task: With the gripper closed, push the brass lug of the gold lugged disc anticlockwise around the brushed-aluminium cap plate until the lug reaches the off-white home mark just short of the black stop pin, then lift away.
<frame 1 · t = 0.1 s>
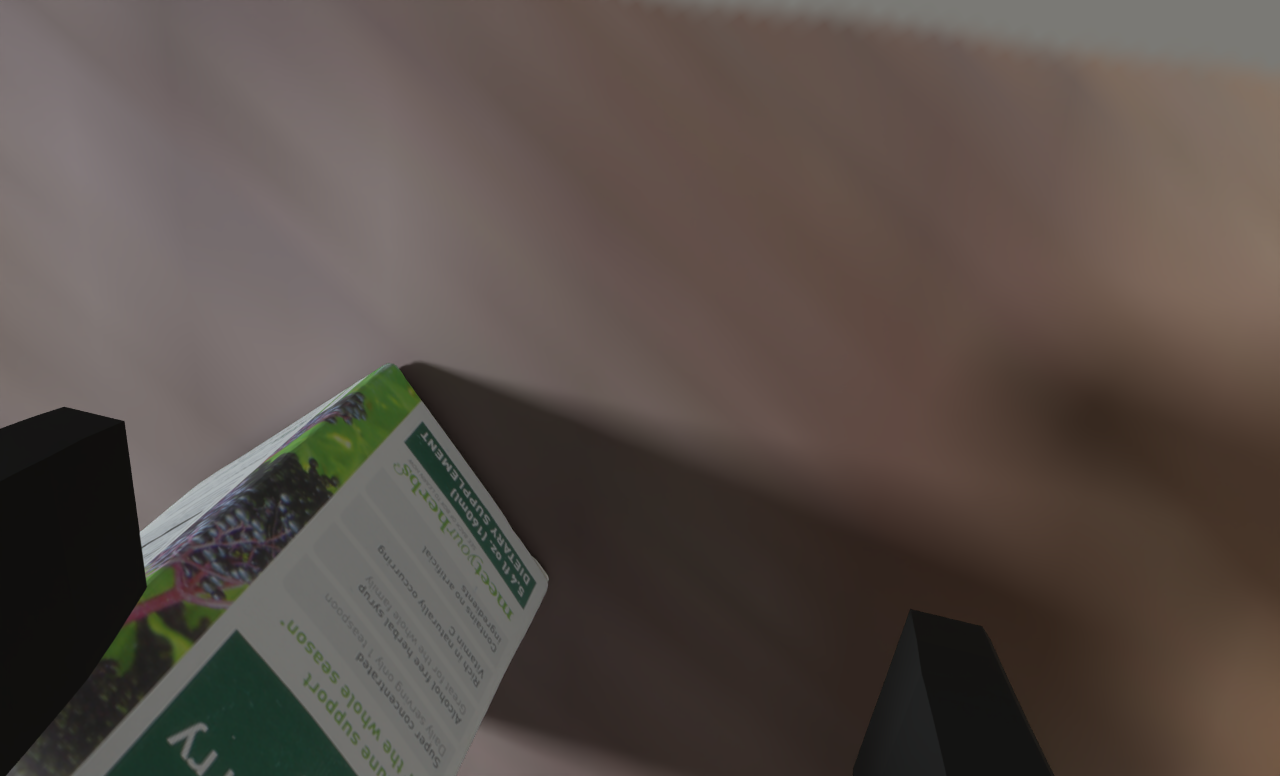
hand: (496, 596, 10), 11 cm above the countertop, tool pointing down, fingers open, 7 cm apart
syrup box: (376, 527, 23), on the countertop, touching gripper
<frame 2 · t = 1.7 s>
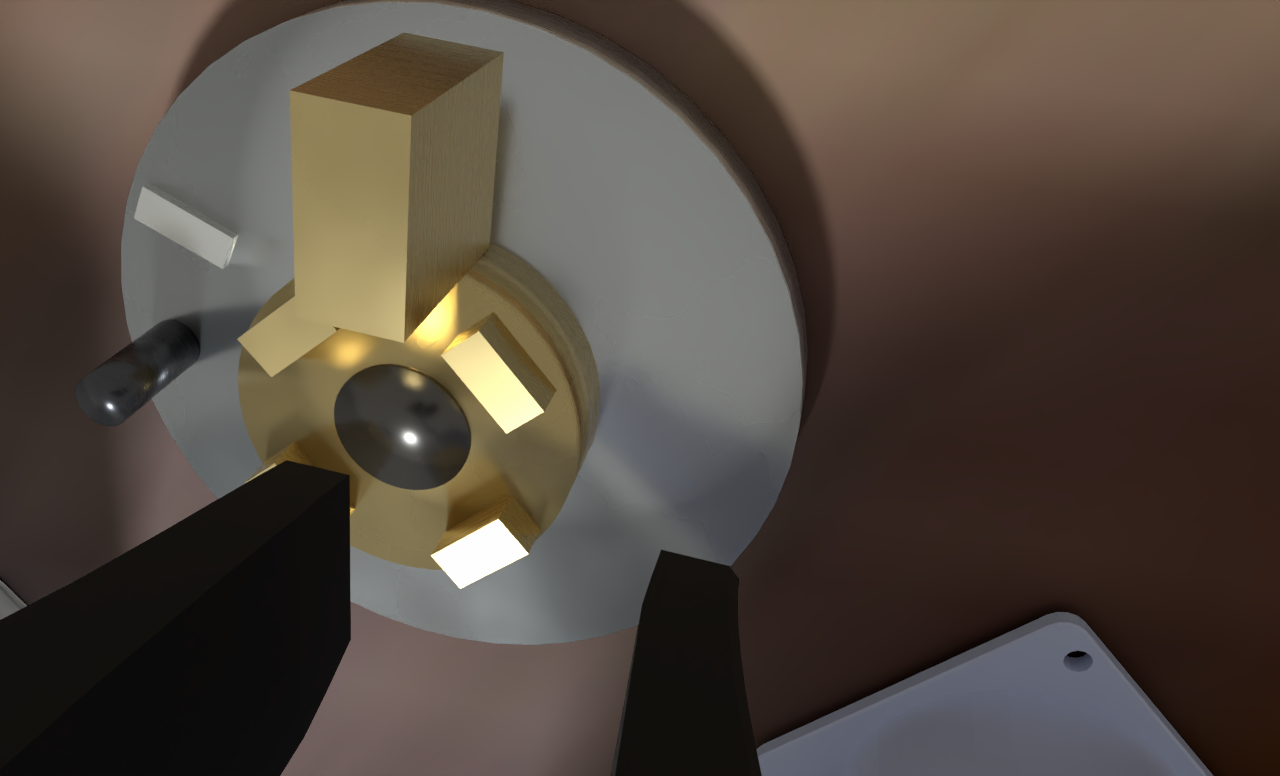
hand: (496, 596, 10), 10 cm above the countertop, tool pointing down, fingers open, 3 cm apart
syrup box: (6, 663, 29), on the countertop
gold lugged disc: (407, 366, 18), point 3 cm above the countertop, hinge at 0.0°
cap plate: (468, 343, 21), on the countertop
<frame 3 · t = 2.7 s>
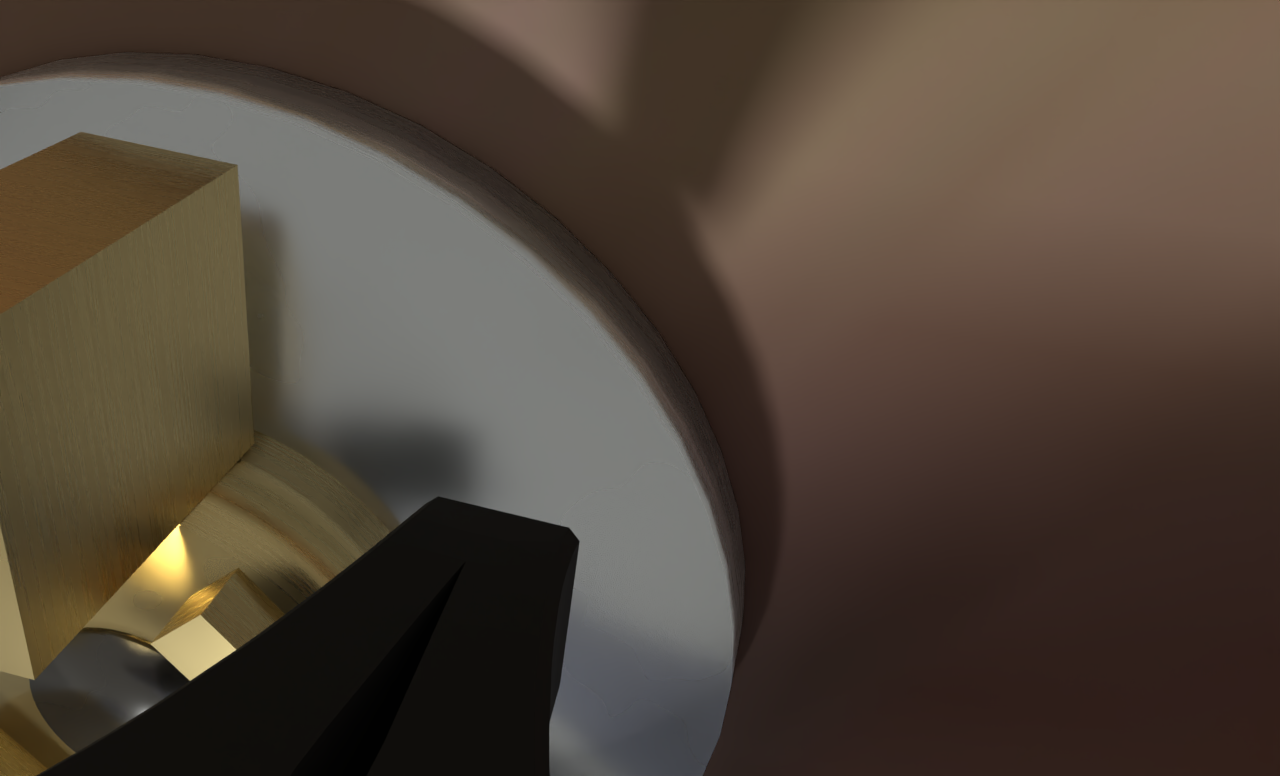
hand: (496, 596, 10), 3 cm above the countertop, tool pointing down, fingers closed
gold lugged disc: (119, 638, 11), point 3 cm above the countertop, hinge at 0.0°
cap plate: (272, 535, 15), on the countertop
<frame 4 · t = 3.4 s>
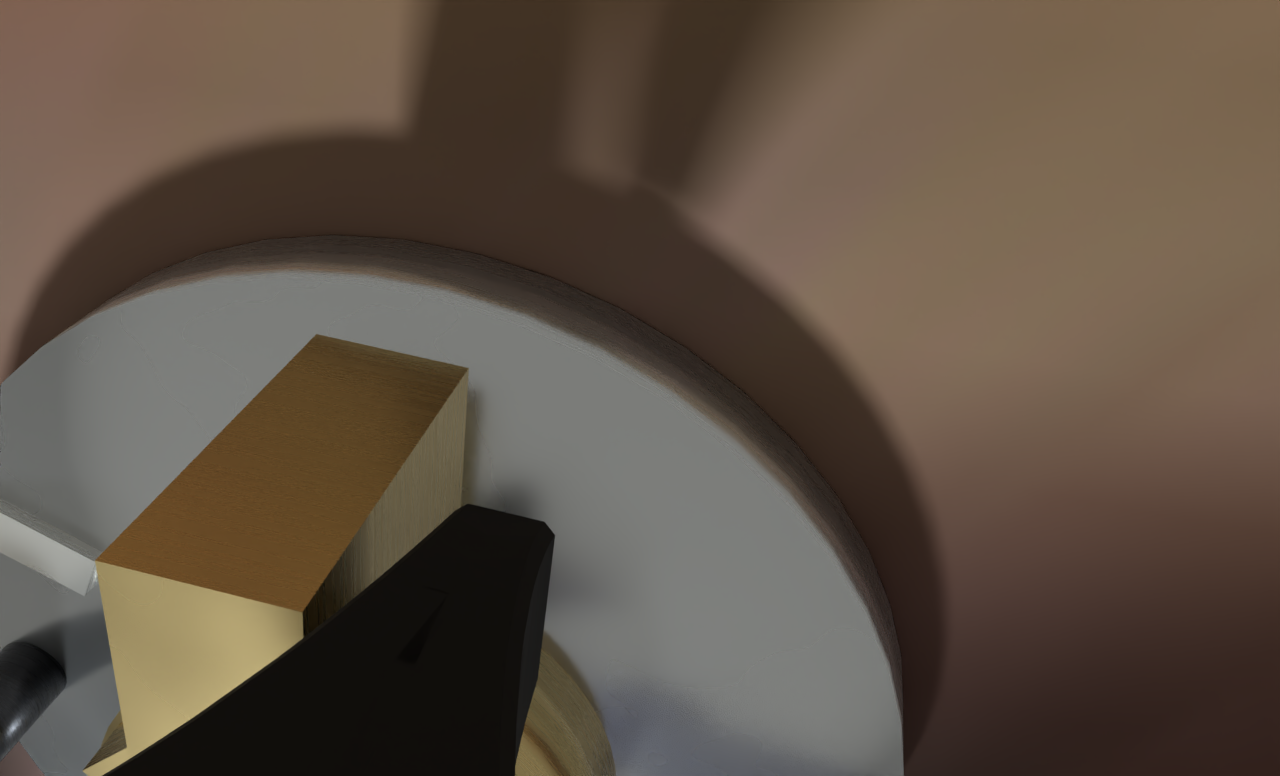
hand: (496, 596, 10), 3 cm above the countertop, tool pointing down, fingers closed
cap plate: (432, 662, 16), on the countertop
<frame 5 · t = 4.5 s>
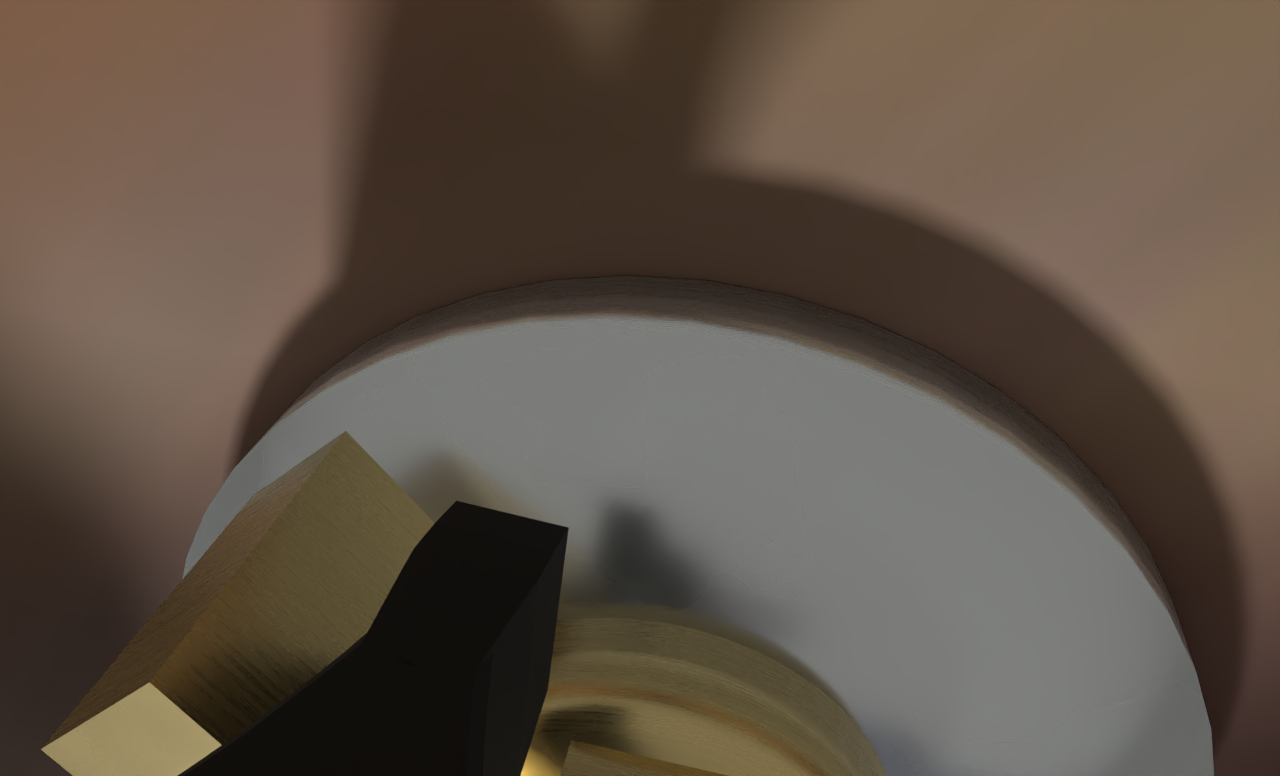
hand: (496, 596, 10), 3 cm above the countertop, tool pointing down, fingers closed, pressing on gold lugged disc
cap plate: (669, 710, 15), on the countertop
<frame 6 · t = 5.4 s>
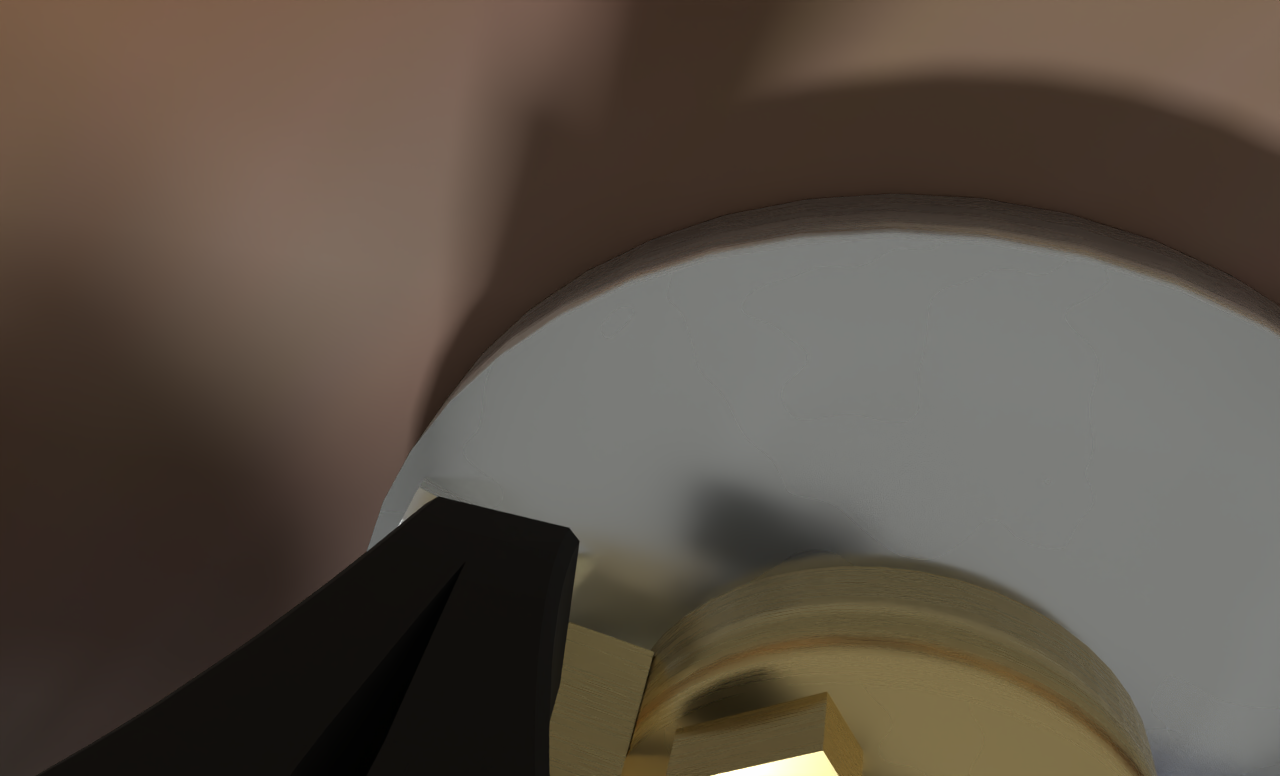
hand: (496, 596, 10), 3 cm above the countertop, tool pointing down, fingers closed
cap plate: (875, 676, 14), on the countertop
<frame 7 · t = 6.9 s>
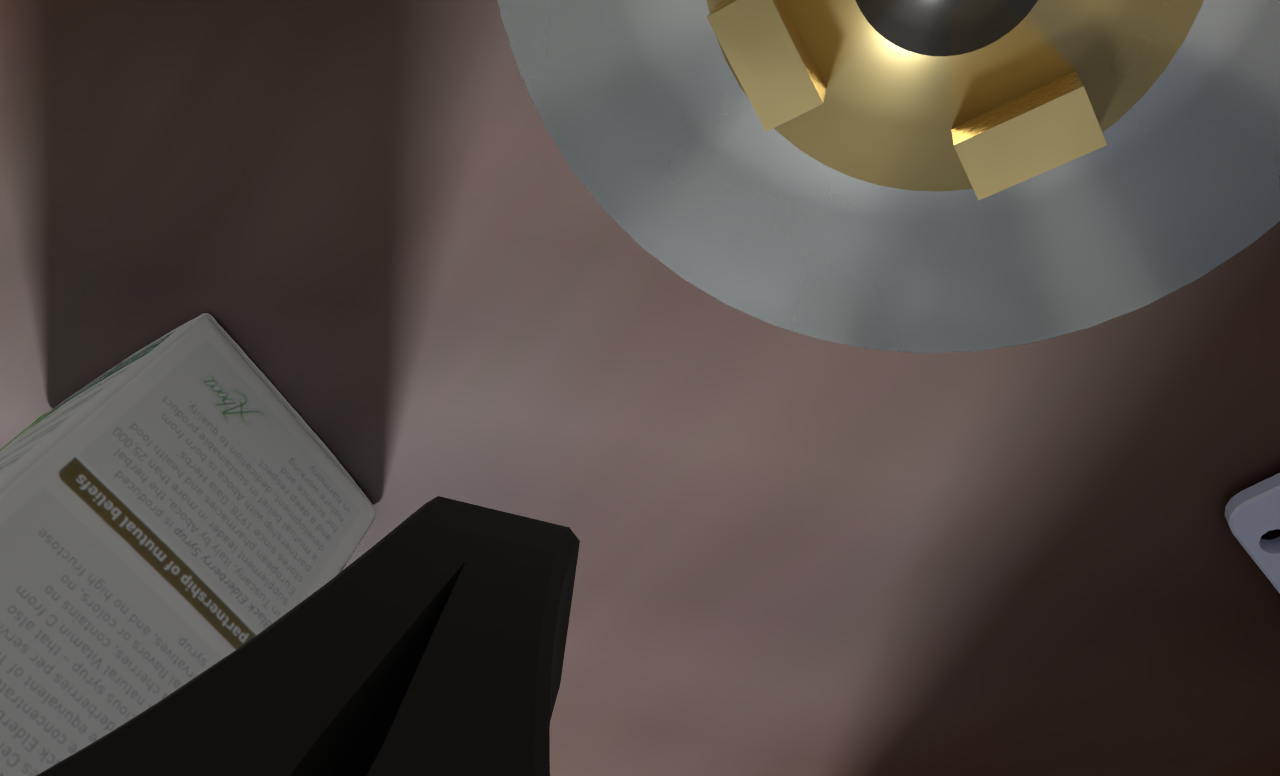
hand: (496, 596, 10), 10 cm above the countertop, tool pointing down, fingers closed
syrup box: (221, 458, 24), on the countertop
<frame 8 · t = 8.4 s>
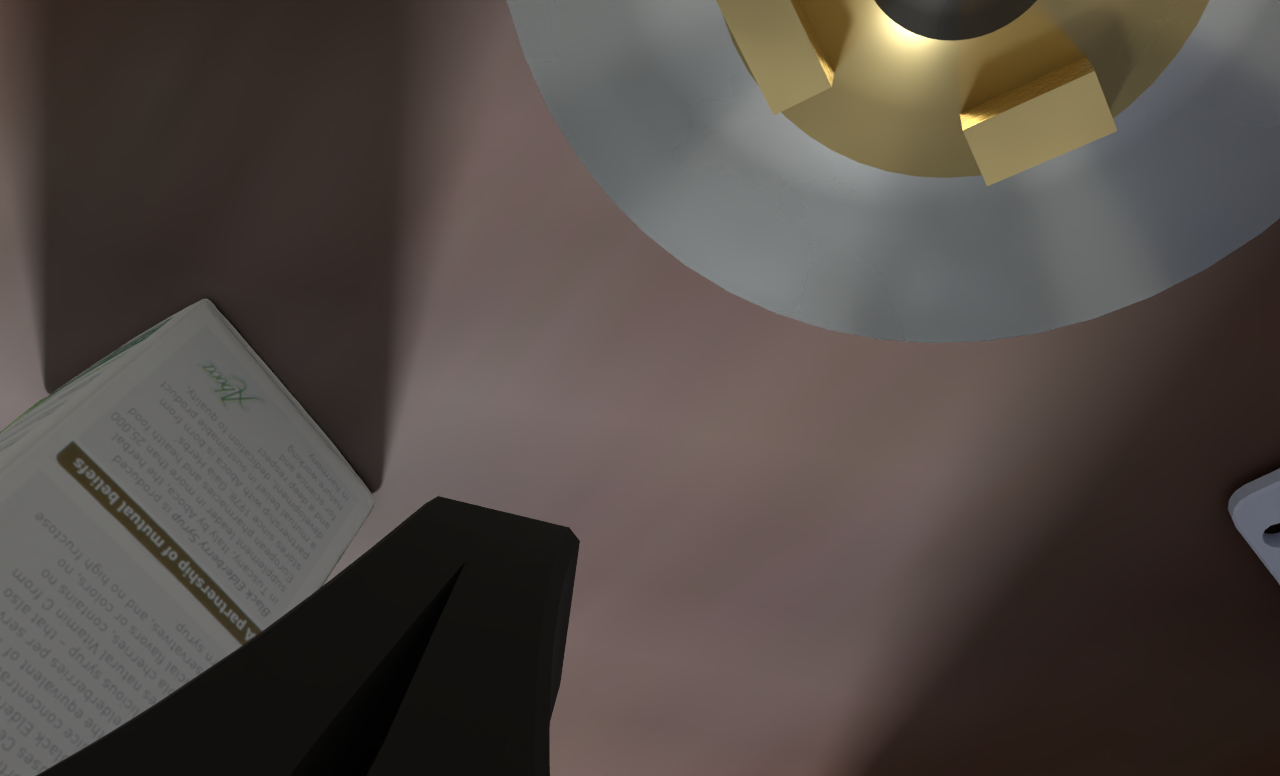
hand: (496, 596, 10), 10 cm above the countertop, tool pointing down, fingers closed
syrup box: (219, 445, 24), on the countertop
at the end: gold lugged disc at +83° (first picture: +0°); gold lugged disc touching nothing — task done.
